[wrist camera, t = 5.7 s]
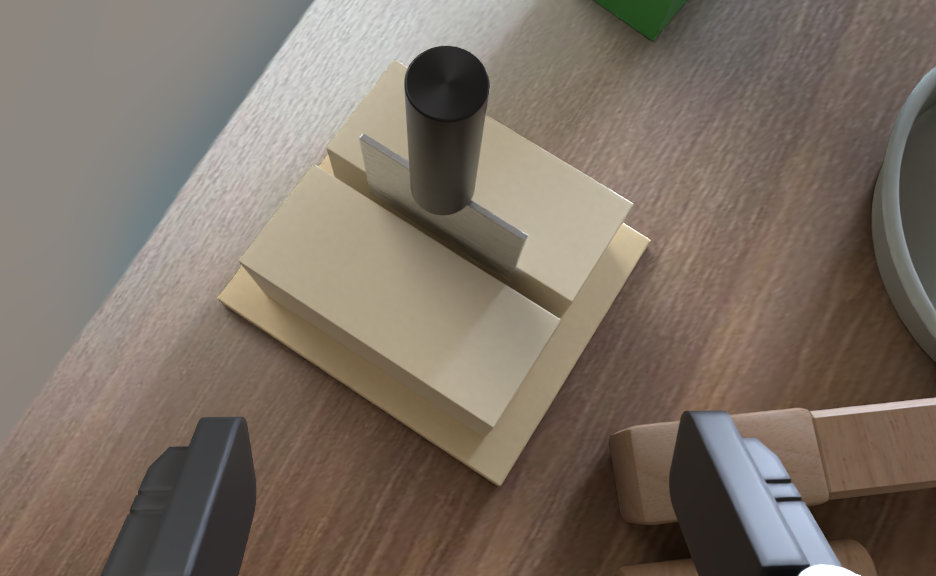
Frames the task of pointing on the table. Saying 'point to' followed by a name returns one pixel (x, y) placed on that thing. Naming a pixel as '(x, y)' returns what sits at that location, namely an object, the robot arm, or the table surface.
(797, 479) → the wooden block set
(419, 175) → the knife
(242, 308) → the slotted fixture
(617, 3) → the hardback book
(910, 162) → the cake pan
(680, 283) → the table surface
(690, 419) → the robot arm
